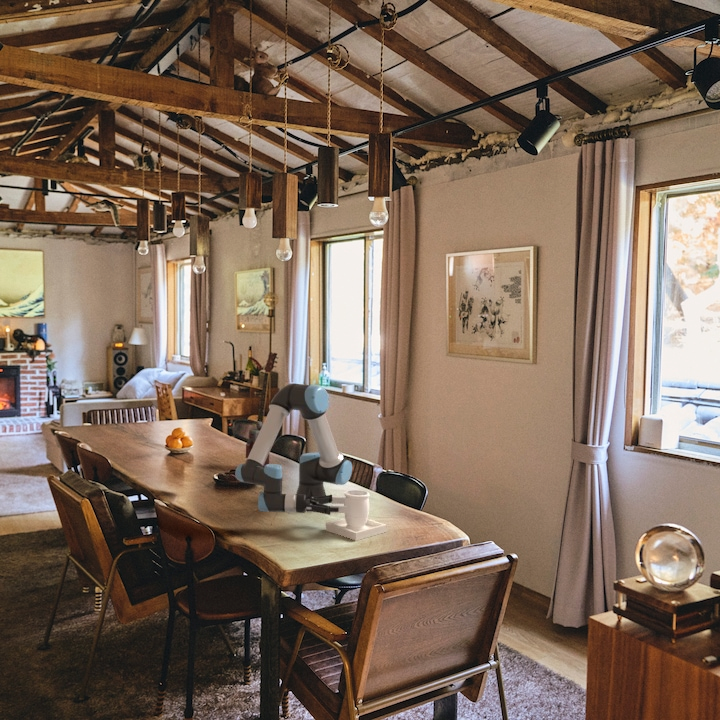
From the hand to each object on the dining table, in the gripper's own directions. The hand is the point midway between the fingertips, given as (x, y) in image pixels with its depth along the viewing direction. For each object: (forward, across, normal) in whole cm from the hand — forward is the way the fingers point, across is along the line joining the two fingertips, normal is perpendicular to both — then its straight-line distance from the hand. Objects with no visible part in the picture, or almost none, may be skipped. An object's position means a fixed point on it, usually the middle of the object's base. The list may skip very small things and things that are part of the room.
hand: (347, 504), depth 291 cm
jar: (+4, 0, -10) cm, 11 cm away
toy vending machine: (-53, -105, -11) cm, 119 cm away
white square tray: (+4, 0, -11) cm, 12 cm away
